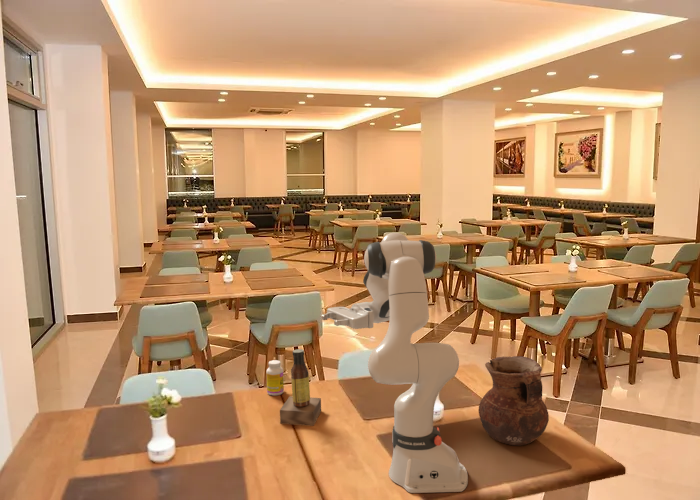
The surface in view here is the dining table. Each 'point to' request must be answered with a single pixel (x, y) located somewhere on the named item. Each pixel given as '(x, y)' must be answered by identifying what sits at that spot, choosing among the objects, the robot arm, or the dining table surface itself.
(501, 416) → the jug
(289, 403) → the walnut block
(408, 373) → the robot arm
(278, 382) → the supplement bottle
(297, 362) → the sauce bottle
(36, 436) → the dining table surface
